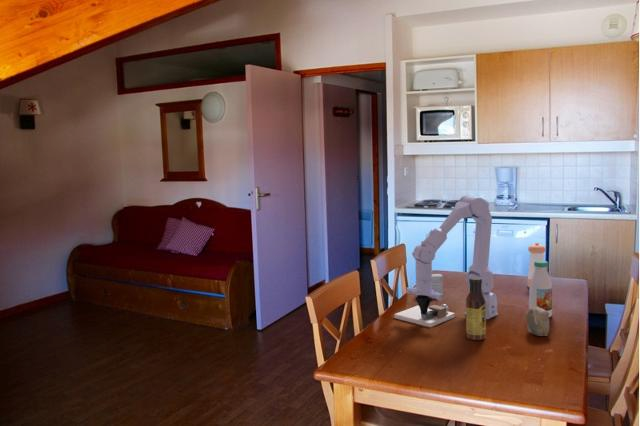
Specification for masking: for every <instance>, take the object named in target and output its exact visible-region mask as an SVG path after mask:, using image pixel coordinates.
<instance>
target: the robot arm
mask: <svg viewBox="0 0 640 426" xmlns="http://www.w3.org/2000/svg"><path fill="white" fill-rule="evenodd" d="M489 206H490V204H489V202H487V201H486V199H484V197H483V198H482V197H475V196H470V195H463V196H461V198H459V200H458V201H457V202H456V203H455V206H454V208H453V209H452V211H451V212H450V213H449V215H448V216H447V217H446V218H445V220H444V221H443V222H442V223H441V225H440V226H439V227H437V228H434V229H433V230H432V229H431V230H430V231H429V234H428V235H427V236H426V238H425V239H424V240H422V241H421V242H420V244H419V245H418V244H417V245H416V246H415V247H414V248H413V252H412V254H411V255H412V257H413V259H414V260H415V286H414V287H413V286H408V287H406V294H414V295H416V296H415V301H416V303H417V304H418V305H419V307H420V310H421V314H422V313H425V312H427V310H428V307H429V306H430V304H431V302H432V300H433V299H436V300H437V301H441V300H443V296H442V294H441V293H438V292H436V291H433V290H432V274H433V264H432V263H433V261H434V260H435V258H436V253H437V251H438V250H439V249H440V248H441V247H442V245H443V244H444V243H445V242H446V241H447V239H448V237H447V236H448V233H449V232H450V231H451V230H453V228H454V227H455V226H456V225H457V224H458V223H459V222H460V221H461V220H462V219H466V218H470V217H471V219H473V220H474V221H475V232H474V241H473V242H474V245H473V255H472V256H473V257H472V264H471V265H470V266H469V267H468V272H467V274H466V275H465V282H466V285H467V286H468V289H469V290H468V291H469V293H470V283H469V278H471V277H479V278H482V284H481V285H482V294H483V296H484V299H485V302H486V320H489V319H491V318H493V317H496V316H498V315H499V313H498V298H497V294H495V293H493V292H491V291H492V290H493V288H494V279H493V271H492V270H491V268H490V267H489V261H490V260H489V259H490V248H491V247H490V246H491V235H492V225H493V223H492V222H493V221H492V220H493V217H492V216H493V215H492V214H491V212H490V209H489ZM469 293H468V294H469ZM418 305H417V306H418ZM464 315H465V316H466V312H464Z"/></svg>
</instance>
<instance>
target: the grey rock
mask: <svg viewBox="0 0 640 426" xmlns="http://www.w3.org/2000/svg"><path fill="white" fill-rule="evenodd" d="M548 315H549V313H548V312H547V311H546V310H544V309H542V308H539V307H537V306H532V308H531V309H530V310H529V309H528V310H527V313H526V316H525V320H526V325H527V326H526V327H527V330H528V332H529V333H531V334H532V335H534V336H537V337H539V336H540V337H543V336H546V337H547V336H549V335H548V333H549V331H550V317H549V316H548Z"/></svg>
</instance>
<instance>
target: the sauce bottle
mask: <svg viewBox="0 0 640 426" xmlns="http://www.w3.org/2000/svg"><path fill="white" fill-rule="evenodd" d="M469 283H470V293H468V294H467V295H466V298H465V299H466V301H465V313H466V315H465V331H466V338H468V339H469V340H472V341H481V340H484V339H486V334H487V319H486V302H485V299H484V296H483V294H482V285H481V284H482V278H479V277H471V278H469Z"/></svg>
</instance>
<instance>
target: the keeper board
mask: <svg viewBox="0 0 640 426" xmlns="http://www.w3.org/2000/svg"><path fill="white" fill-rule="evenodd" d="M432 310H435V311H438V315H437V316H434V317H431V318H428V319H423V318H421V310H420V307H419V305H415V306H412V307H410V308H407V309H404V310H402V311H399V312H396V313H394V319H397V320H401V321H405V322H409V323H413V324H416V325H420V326H423V327H426V328H432V327H434V326H437V325H440V324H441V323H444V322H447V321H450V320H451V319H454V318H455V317H456V313H455V312H452V311H448V314H446V307H442V306H441V305H436V304H433V305H429V306H428V310H427V312H428V311H432Z"/></svg>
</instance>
